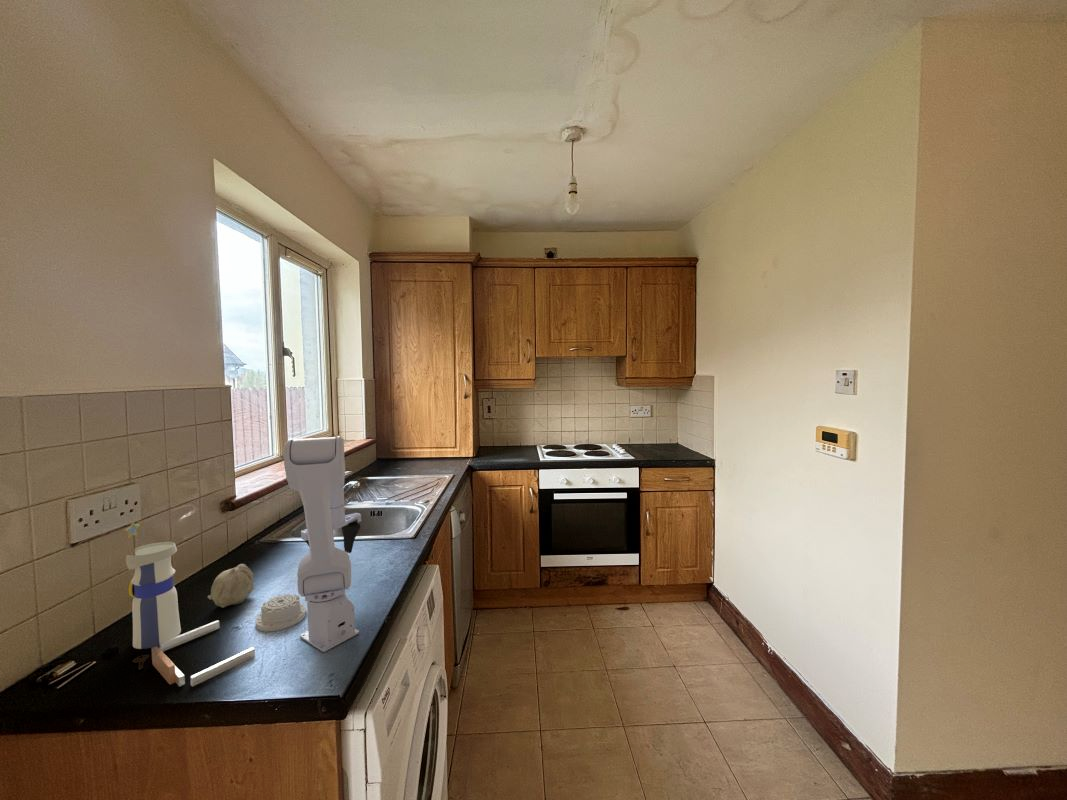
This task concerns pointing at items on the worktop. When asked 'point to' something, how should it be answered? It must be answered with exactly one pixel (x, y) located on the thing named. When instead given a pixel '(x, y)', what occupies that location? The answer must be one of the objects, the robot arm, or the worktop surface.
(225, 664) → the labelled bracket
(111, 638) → the worktop surface
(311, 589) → the robot arm
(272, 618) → the mechanical component
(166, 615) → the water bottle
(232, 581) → the garlic bulb
